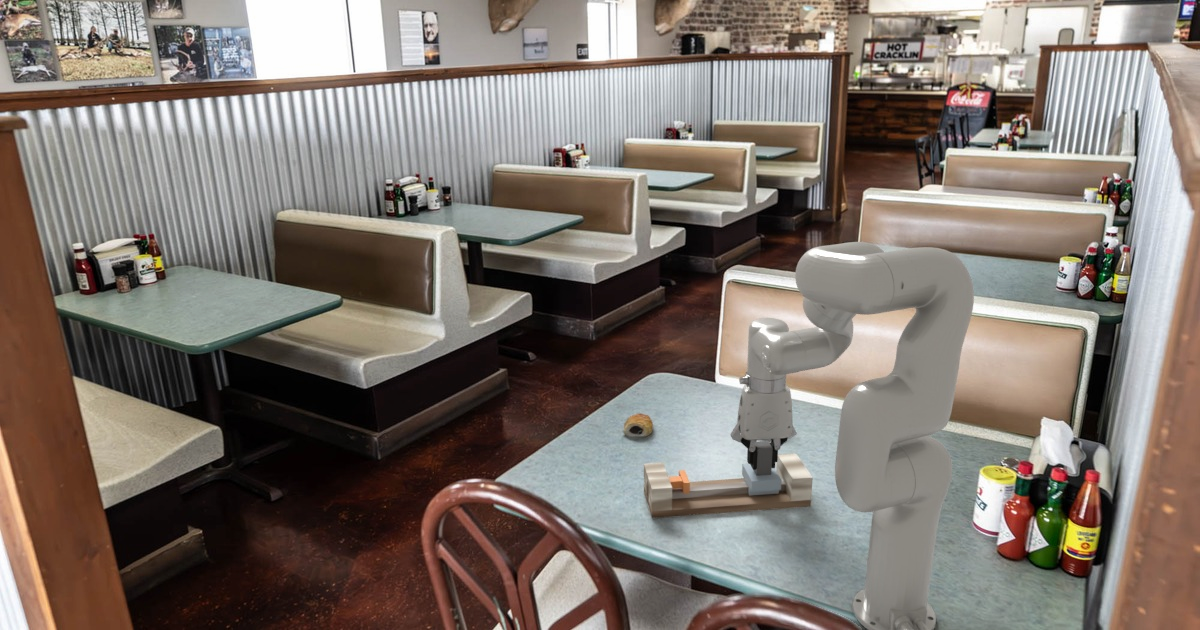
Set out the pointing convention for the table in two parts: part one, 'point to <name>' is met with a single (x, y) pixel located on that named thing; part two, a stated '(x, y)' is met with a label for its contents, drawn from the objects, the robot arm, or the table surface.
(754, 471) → the carriage
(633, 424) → the pastry
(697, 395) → the table surface
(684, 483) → the button
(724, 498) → the rail bench
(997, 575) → the table surface
